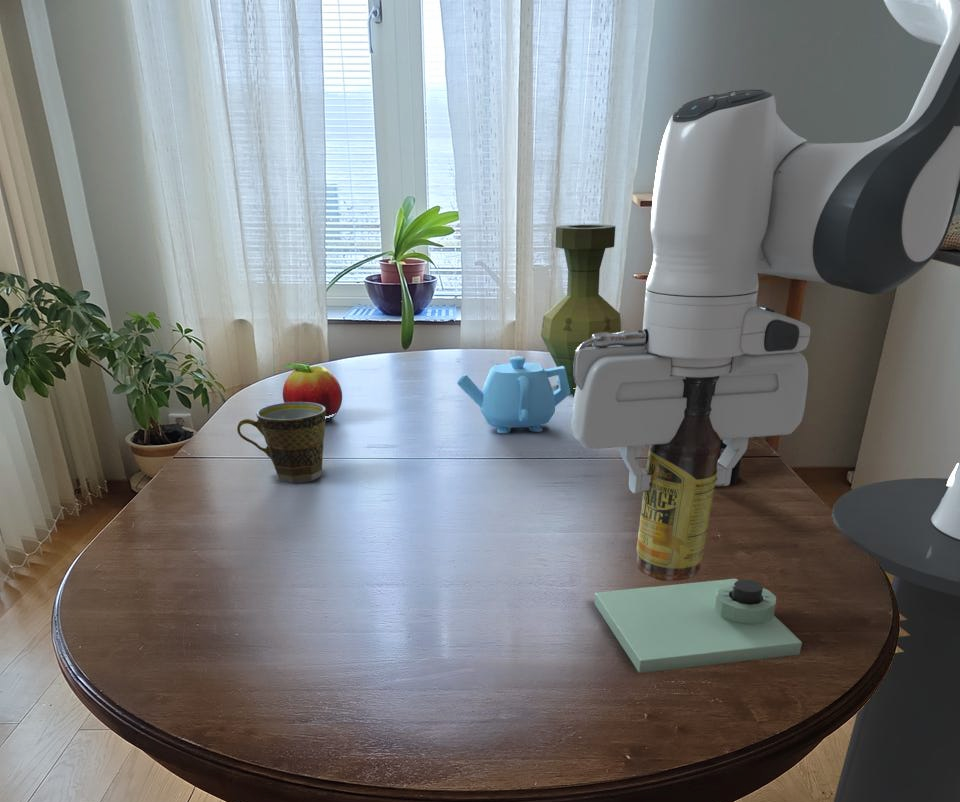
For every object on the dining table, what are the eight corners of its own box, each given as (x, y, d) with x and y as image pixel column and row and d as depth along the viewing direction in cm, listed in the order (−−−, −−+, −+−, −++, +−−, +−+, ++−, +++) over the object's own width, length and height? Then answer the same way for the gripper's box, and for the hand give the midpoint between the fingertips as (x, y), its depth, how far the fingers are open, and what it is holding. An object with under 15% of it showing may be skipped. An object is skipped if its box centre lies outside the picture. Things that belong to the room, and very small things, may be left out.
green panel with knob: (737, 589, 89) (741, 564, 88) (803, 654, 77) (809, 627, 76) (594, 604, 87) (595, 578, 85) (639, 673, 75) (641, 645, 74)
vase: (583, 375, 178) (590, 222, 163) (634, 389, 167) (647, 226, 152) (523, 387, 170) (525, 226, 155) (573, 402, 159) (580, 231, 144)
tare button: (752, 592, 83) (754, 578, 82) (765, 604, 81) (768, 590, 80) (726, 594, 83) (728, 580, 82) (738, 607, 80) (741, 593, 79)
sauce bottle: (623, 562, 80) (641, 352, 70) (679, 553, 82) (705, 347, 72) (656, 590, 75) (681, 367, 65) (715, 580, 76) (748, 361, 66)
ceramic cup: (327, 462, 130) (319, 399, 125) (338, 482, 121) (330, 415, 116) (243, 472, 126) (232, 407, 121) (249, 493, 118) (237, 425, 113)
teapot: (559, 411, 154) (561, 345, 148) (579, 436, 139) (582, 365, 133) (453, 416, 152) (451, 350, 146) (463, 442, 137) (461, 370, 131)
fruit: (322, 430, 145) (315, 372, 140) (273, 423, 149) (265, 367, 144) (355, 415, 154) (350, 360, 149) (308, 409, 158) (302, 356, 153)
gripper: (586, 341, 63) (578, 509, 70) (830, 327, 66) (799, 490, 73) (564, 327, 68) (559, 485, 75) (791, 315, 71) (765, 468, 78)
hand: (679, 487), depth 74 cm, fingers closed on sauce bottle, 6 cm apart
